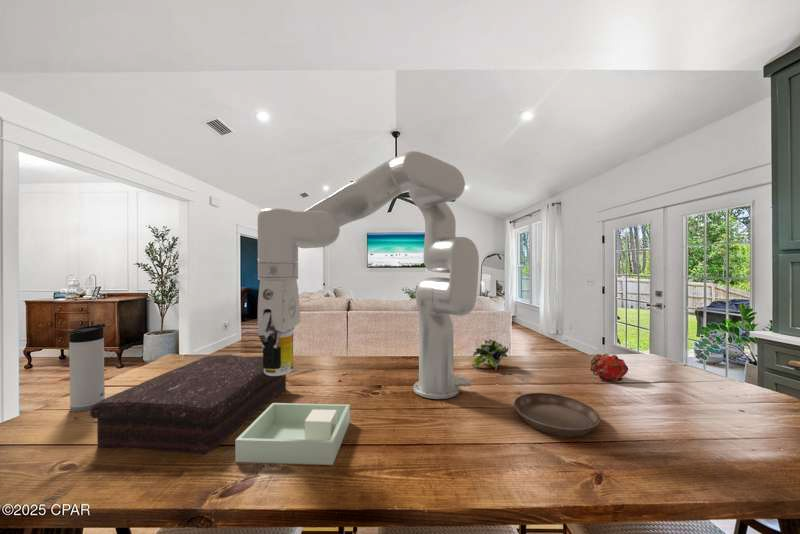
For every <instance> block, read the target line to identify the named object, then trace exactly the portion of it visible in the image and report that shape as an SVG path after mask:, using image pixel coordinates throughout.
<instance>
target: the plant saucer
mask: <svg viewBox="0 0 800 534" xmlns="http://www.w3.org/2000/svg"><path fill="white" fill-rule="evenodd" d="M513 404H514V405H513V406H514V408H515V410H516V411H517V413H518V415H519V416H520V417H521V419H522V420H523V421H524V422H525V423H526V424H528V425H529V426H531V427H532V428H534V429H536V430H538V431H539V432H543V433H546V434H549V435H555V436H560V437H567V438H568V437H569V438H570V437H571V438H572V437H573V438H574V437H581V436H585V435H586V434H589V433H591V432H592V431H593V430H594V429H596V427H597V426H598V425H599V423H600V422H601V416H600V414H599V413H598V410H596V409H595V408H593V407H592V406H590V405H589V404H588V403H585V402H583V401H580V400H578V399H575V398H572V397H569V396H566V395H561V394H556V393H549V392H530V393H529V392H528V393H526V394H525V393H524V394H522V395H520V396H518V397H516V399H515V400H514V401H513Z"/></svg>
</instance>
